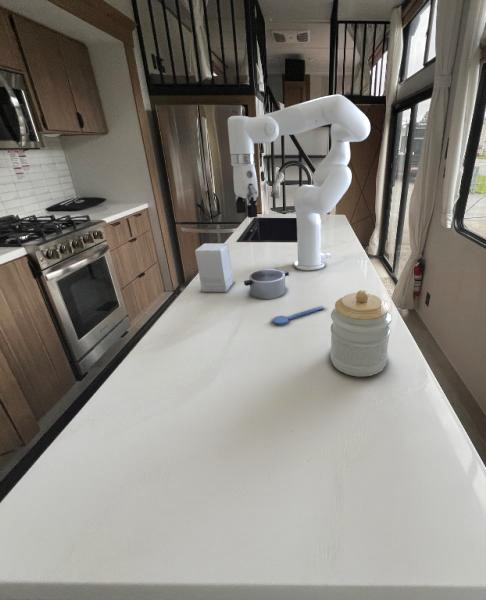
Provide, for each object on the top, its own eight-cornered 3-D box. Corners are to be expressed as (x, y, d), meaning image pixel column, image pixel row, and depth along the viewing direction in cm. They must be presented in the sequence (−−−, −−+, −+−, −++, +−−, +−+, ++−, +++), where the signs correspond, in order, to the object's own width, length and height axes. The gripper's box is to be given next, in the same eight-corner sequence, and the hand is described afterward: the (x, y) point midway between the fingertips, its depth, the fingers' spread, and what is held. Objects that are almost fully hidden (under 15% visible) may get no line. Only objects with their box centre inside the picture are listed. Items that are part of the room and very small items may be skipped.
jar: (351, 385, 67) (355, 310, 60) (319, 353, 78) (319, 286, 70) (398, 366, 73) (408, 295, 65) (363, 339, 83) (368, 275, 75)
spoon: (318, 306, 100) (318, 303, 100) (326, 311, 97) (326, 309, 97) (271, 320, 93) (270, 318, 92) (278, 327, 90) (277, 324, 89)
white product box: (234, 282, 119) (229, 242, 113) (226, 292, 111) (220, 250, 105) (210, 281, 120) (204, 242, 114) (201, 291, 112) (193, 250, 106)
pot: (280, 281, 120) (279, 265, 117) (297, 292, 110) (296, 275, 108) (239, 291, 112) (237, 275, 109) (253, 303, 103) (252, 286, 100)
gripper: (265, 161, 98) (267, 218, 106) (243, 159, 112) (247, 210, 119) (241, 161, 95) (246, 220, 102) (222, 160, 108) (227, 212, 115)
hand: (246, 214), depth 110 cm, fingers open, 9 cm apart
